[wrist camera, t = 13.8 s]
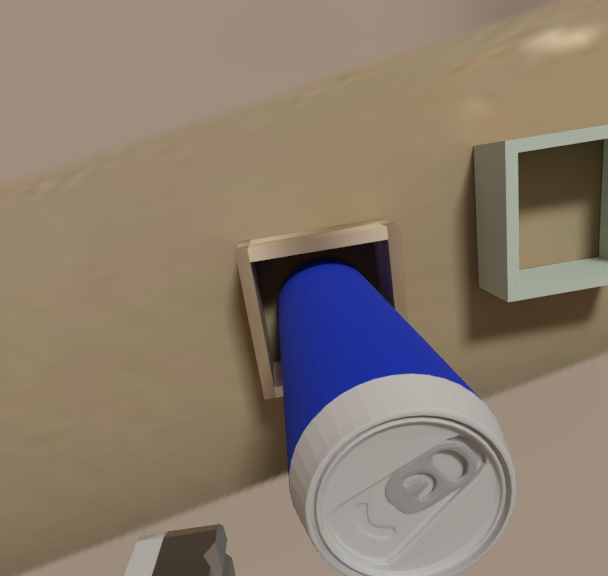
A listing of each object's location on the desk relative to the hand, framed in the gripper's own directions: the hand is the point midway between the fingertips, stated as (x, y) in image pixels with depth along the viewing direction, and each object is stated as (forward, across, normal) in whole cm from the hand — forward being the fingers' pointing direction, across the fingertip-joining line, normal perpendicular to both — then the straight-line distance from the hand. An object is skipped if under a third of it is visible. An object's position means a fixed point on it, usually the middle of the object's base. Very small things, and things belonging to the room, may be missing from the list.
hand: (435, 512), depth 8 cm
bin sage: (+16, -12, -3) cm, 20 cm away
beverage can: (+16, 0, +1) cm, 16 cm away
